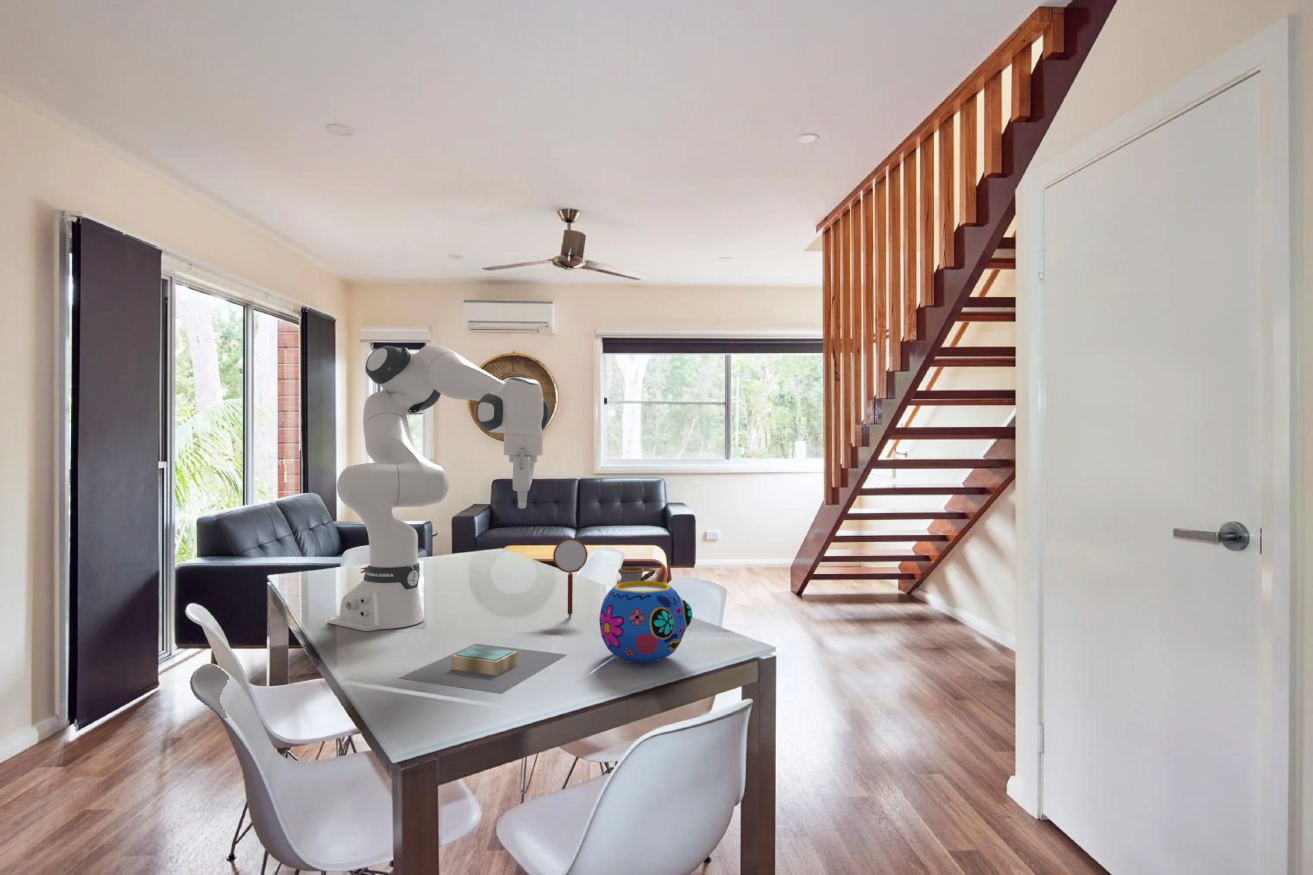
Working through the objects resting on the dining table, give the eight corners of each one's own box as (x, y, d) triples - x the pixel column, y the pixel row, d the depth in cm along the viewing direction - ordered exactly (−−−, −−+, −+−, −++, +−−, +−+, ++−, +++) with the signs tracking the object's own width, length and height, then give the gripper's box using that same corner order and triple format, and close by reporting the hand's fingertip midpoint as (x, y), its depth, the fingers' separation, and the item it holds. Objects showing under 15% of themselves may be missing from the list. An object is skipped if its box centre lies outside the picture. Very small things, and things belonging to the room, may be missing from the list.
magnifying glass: (552, 619, 172) (553, 539, 172) (552, 617, 174) (553, 538, 174) (587, 617, 174) (587, 538, 174) (586, 615, 175) (587, 537, 176)
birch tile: (473, 658, 137) (451, 669, 131) (474, 645, 137) (452, 654, 131) (517, 664, 134) (497, 675, 127) (517, 650, 134) (497, 660, 127)
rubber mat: (398, 681, 125) (398, 677, 125) (476, 646, 148) (476, 643, 148) (501, 696, 118) (501, 693, 118) (567, 657, 140) (567, 654, 140)
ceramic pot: (660, 680, 127) (660, 598, 127) (581, 665, 136) (581, 588, 136) (700, 655, 142) (701, 582, 142) (627, 643, 151) (628, 574, 151)
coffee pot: (602, 617, 174) (602, 558, 174) (644, 613, 178) (645, 555, 178) (630, 639, 154) (630, 572, 154) (677, 634, 158) (677, 569, 159)
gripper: (536, 448, 148) (535, 512, 148) (537, 447, 168) (536, 503, 168) (506, 448, 147) (505, 512, 147) (511, 446, 167) (510, 503, 167)
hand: (522, 507), depth 158 cm, fingers closed
